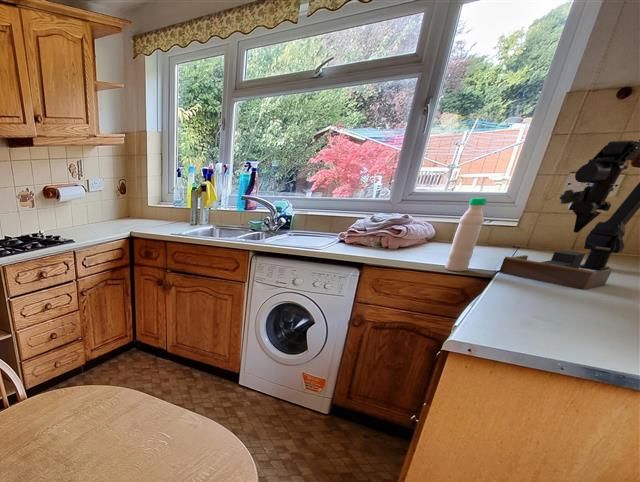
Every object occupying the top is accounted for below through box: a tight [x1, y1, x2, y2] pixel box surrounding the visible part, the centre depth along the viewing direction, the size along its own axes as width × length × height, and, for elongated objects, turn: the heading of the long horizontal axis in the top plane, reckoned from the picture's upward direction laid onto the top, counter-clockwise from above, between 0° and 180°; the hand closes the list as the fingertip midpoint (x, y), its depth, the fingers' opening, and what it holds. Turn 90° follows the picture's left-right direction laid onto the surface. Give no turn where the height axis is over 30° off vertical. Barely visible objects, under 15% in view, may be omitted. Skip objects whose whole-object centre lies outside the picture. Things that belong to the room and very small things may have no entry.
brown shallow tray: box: [498, 254, 613, 290], centre depth 148 cm, size 12×25×6 cm, turn 21°
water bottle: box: [444, 197, 488, 272], centre depth 157 cm, size 7×7×25 cm
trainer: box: [541, 250, 586, 269], centre depth 148 cm, size 13×6×8 cm, turn 111°
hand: (575, 232), depth 151 cm, fingers closed
